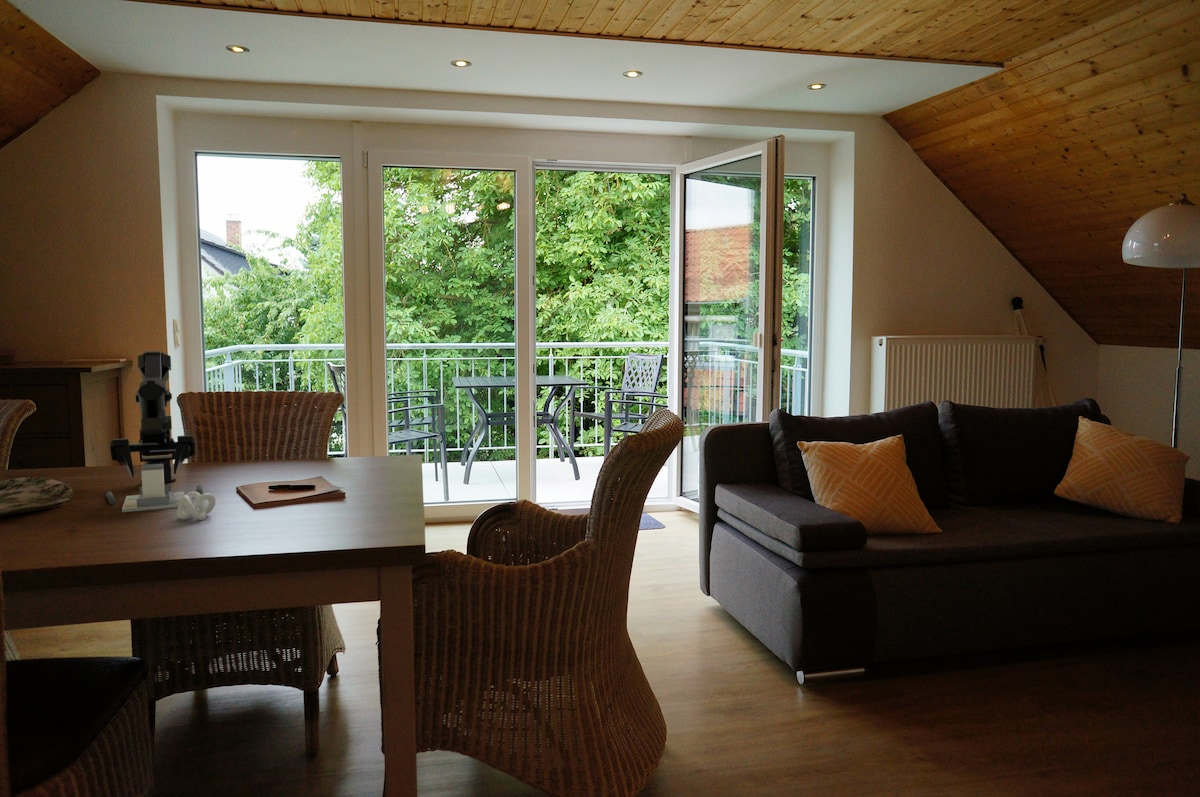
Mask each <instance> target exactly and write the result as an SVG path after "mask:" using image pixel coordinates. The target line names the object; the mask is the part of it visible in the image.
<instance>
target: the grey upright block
mask: <svg viewBox="0 0 1200 797" xmlns="http://www.w3.org/2000/svg"><path fill="white" fill-rule="evenodd" d="M140 469H141V471H140V472H141V481H142V483H141V487H142V492H143V498H151V497H164V496H165V492H164V485H165V483H164V470H163V464H149V465H145V464H142V465H141V468H140Z"/></svg>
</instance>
